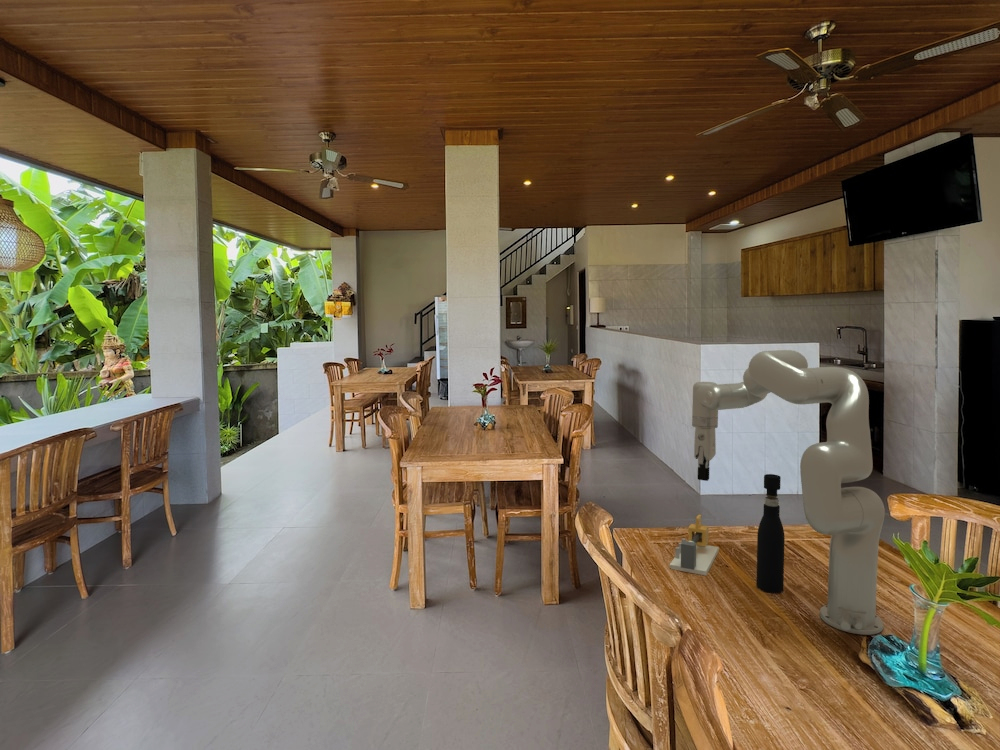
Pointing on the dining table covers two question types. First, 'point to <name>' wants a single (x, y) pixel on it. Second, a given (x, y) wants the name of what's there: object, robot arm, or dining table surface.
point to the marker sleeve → (700, 529)
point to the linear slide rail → (694, 556)
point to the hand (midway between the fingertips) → (703, 479)
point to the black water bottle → (770, 541)
